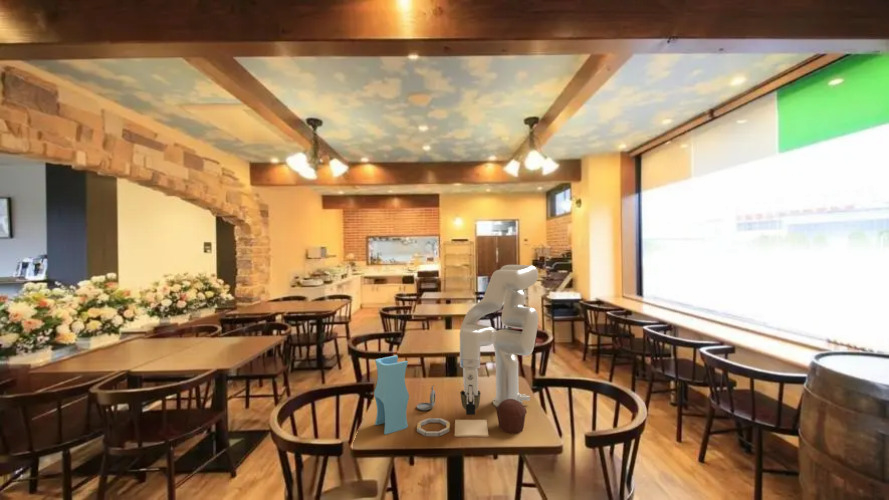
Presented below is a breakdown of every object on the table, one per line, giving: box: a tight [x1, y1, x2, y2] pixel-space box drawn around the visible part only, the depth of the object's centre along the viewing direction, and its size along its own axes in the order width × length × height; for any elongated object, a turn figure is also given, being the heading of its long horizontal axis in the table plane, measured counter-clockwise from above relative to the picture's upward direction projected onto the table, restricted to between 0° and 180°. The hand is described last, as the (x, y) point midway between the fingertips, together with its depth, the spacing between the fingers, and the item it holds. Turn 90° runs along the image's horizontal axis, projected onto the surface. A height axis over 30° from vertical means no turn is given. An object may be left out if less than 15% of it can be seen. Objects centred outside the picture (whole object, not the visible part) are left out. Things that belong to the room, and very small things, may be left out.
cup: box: [460, 389, 481, 413], centre depth 145 cm, size 8×7×8 cm
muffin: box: [495, 399, 528, 434], centre depth 145 cm, size 12×11×10 cm
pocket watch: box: [416, 384, 436, 411], centre depth 164 cm, size 8×8×10 cm
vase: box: [373, 354, 410, 435], centre depth 148 cm, size 10×10×25 cm
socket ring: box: [416, 417, 451, 437], centre depth 146 cm, size 12×12×1 cm
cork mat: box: [454, 419, 489, 438], centre depth 145 cm, size 12×12×1 cm
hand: (470, 409), depth 145 cm, fingers closed on cup, 6 cm apart
